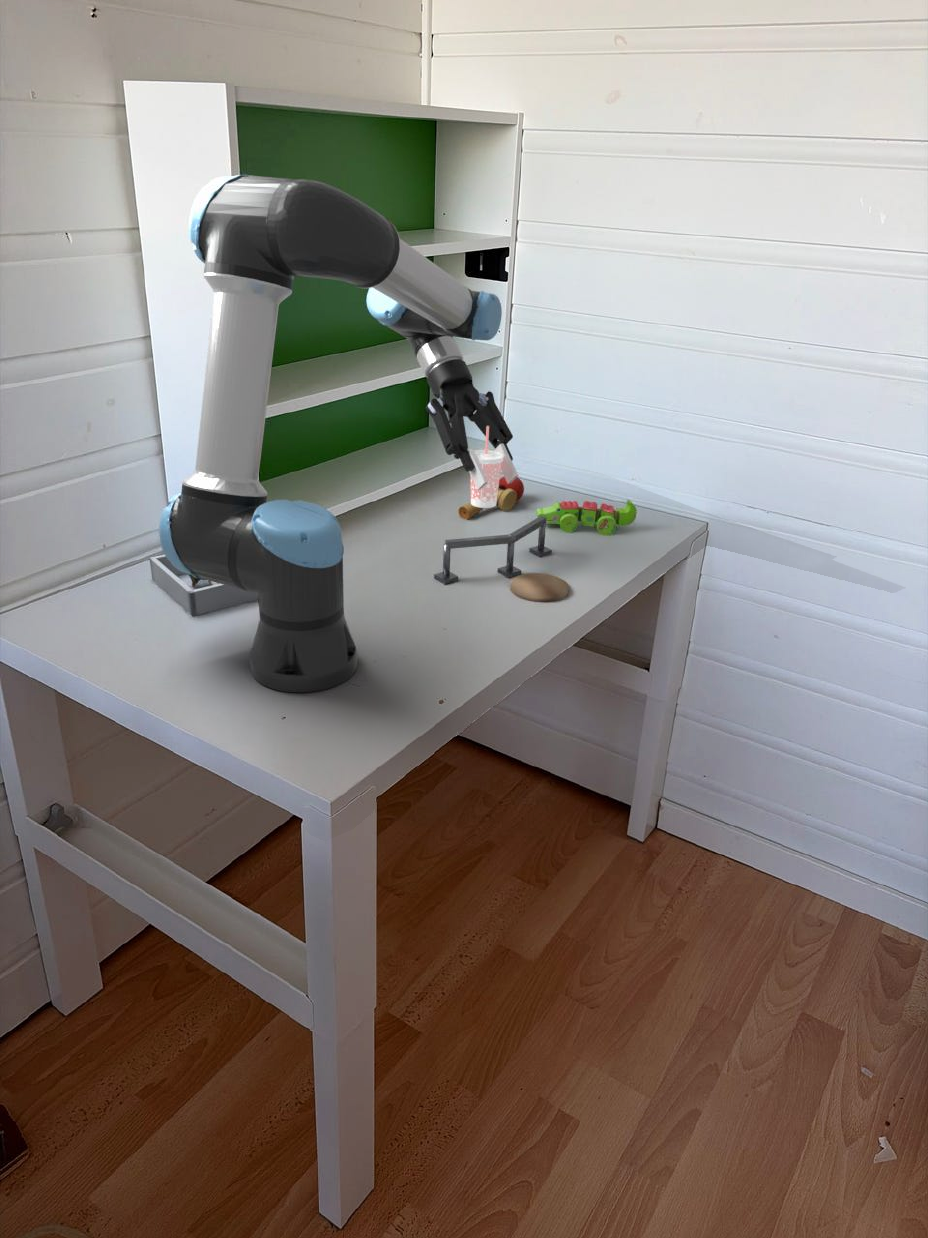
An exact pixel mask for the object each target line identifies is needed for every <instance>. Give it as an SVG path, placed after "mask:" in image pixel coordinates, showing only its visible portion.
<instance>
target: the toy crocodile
mask: <svg viewBox="0 0 928 1238" xmlns="http://www.w3.org/2000/svg"><path fill="white" fill-rule="evenodd" d="M637 511H638V510H637V507H636V505H635V504H634V503H633V502H632V501H631V500H630V499H626V505H625V506H624V507H616V508H615V509H614V506H613V505H609V504H607V503H603V502H602V503H601V504H600V508H598V503H597V502H595V501H592V502H591V501H588V500H586V501H583V504H582V506H579V504H578V501H576V500H572V501H565V500H564V501H563V500H562V501H560V502H558V501H557V502H555V503H554V504H553V505H550V506H546V507H543V508H542V507H538V508H537V509H536V515H537V518H538V517H540V516H544V517H547V519H546V524H550V525H551V524H554V525H555V524H558V525H559V527H560V529H561V530H562V531H563V532H564V533H570V534H571V533H573V532H575V531H576V530H577V529H578V528H579V525H580V526H585V527H591V528H592V527H595V525H596V528H597V531H598V533H599V534H600V535H602V536H610V535H612V534H614V533H615V532H616V530H617V526H619V527H624V526H629V525H631V524H632V523H634V521H635V520H636V518H637Z"/></svg>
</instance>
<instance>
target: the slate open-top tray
mask: <svg viewBox="0 0 928 1238" xmlns="http://www.w3.org/2000/svg"><path fill="white" fill-rule="evenodd" d="M149 564H150V572H151V580H152V581H153V582H154V583H155V584H157V586H159V587H160V588H161V589H162V590H163V591H164V592H165V593H166V594H167V595H168V596H169V597H170V598H171V599H173V600H174V601H175V602H176V603H177V604H178V605H179V606H180V607H182V608H183V609H184V610H185V611H186V612H187V613H188V614H189V615H190V616H191V617H194V616H198V615H202V614H205V613H209V612H214V611H217V610H221V609H225V608H229V607H233V606H237V605H240V604H244V603H248V602H252V601H257V600H258V595H257V594H256V593H253V592H250V591H246V590H242V589H239V588H235V587H231V586H228V585H224V584H220V583H217V584H216V585H212V584H211V585H207V586H204V587H200V588H195V589H192V588H191V587H189V586H188V585H187V584H186V583H185V582H184V581H182V580H181V579H180V578H179V576H181V575H188V574H187V573H184V572H182V571H180V570H178V569H176V568H175V567H174V566H173V565H172V564H171V562H170V561H169V560H168V559H167V558H166V556H165V554H160V555H157V556H152V557H149Z"/></svg>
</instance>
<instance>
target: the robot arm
mask: <svg viewBox="0 0 928 1238" xmlns="http://www.w3.org/2000/svg"><path fill="white" fill-rule="evenodd" d="M188 221H189V222H188V229H189V231H188V233H189V239H190V243H192V244H194V245H193V248H192V249H193V251H194V253H195V255H196V256H197V258H198V259H199V260H200V261H201V262H202V263H203V264H204V268H203V278H204V279H205V280H206V282H207V283H208V285H209V286H210V288H211V290H212V291H213V297H212V306H211V307H212V308H211V318H210V325H209V327H210V328H209V336H208V345H207V352H206V353H207V355H206V364H205V373H204V382H203V383H204V385H203V390H202V391H203V392H202V393H203V394H202V403H201V411H200V421H199V431H198V440H197V447H196V448H197V450H196V459H195V469H194V471H193V472H192V474H190V475H188V476H187V477H186V478H184V479H183V480H182V482H181V483H182V485H181V491H180V492H178V493H176V494H175V495H173V496H172V497H171V498H170V499H169V500H168V502H167V506H166V507H164V508H163V509H162V511H161V516H160V520H159V523H158V524H159V526H158V535H159V542H160V546H161V548H162V549H161V550H162V551H163V555H165V556H166V558H167V559H168V560H169V561H170V562H171V564H172V565H173V566H174V567H175V568H176V569H178V570H180V571H182V572H184V573H187V574H186V575H188V574H190V575H192V576H193V577H195V578H198V579H200V581H208V580H209V581H213V582H216V583H217V584H224V585H228V586H231V587H235V588H239V589H242V590H246V591H250V592H253V593H256V594H257V595H258V599H257V600H258V608H259V609H258V612H259V613H258V614H259V622H258V624H257V629H256V631H255V636H254V639H253V643H252V646H251V649H250V652H249V666H250V674H251V675H252V677H253V678H254V679H255V680H256V681H257V682H258V683H259V684H261V685H263V686H265V687H268V688H269V689H270V688H271V689H274V690H277V691H281V692H289V693H309V692H319V691H324V690H327V689H330V688H333V687H336V686H339V685H341V684H343V683H344V682H346V681H347V680H349V679H350V678H351V677H352V676H353V675H354V674H355V672H356V671H357V669H358V668H357V667H358V649H357V645H356V643H355V640H354V638H353V634H352V632H351V631H350V628H349V624H348V623H347V620H346V617H345V611H344V610H345V609H344V608H345V606H344V605H345V604H344V598H345V597H344V595H345V594H344V554H345V552H344V551H345V550H344V543H343V538H342V529H341V525H340V522H339V520H338V519H337V517H336V516H335V515H334V514H333V513H332V512H331V511H330V510H328V509H327V508H325V507H323V506H322V505H321V506H320V505H319V504H316V503H312V502H310V501H304V500H300V499H299V500H298V499H294V500H292V501H291V500H288V499H276V500H270V501H267V499H268V491H267V490H266V489H265V488H264V486H263V485H262V484H261V483H260V480H259V474H260V465H261V457H262V449H263V440H264V432H265V425H266V422H265V421H266V414H267V406H268V398H269V390H270V381H271V375H272V374H271V372H272V364H273V356H274V355H273V354H274V348H275V341H276V330H277V323H278V315H279V308H280V307H279V306H280V305H281V303H282V302H283V301H284V300H285V299H287V298H288V297H290V296H291V295H292V293H293V286H294V278H295V277H298V278H299V277H300V278H301V277H304V278H305V277H307V278H316V279H317V278H318V279H328V280H335V281H341V282H345V283H348V284H350V285H352V286H354V287H356V288H359V289H368V291H367V293H366V294H367V295H366V306H367V310H368V311H369V313H370V315H371V316H372V317H373V318H375V319H376V320H377V322H379V324H381V325H383V326H386V327H387V328H389V329H391V330H393V331H394V332H396V333H398V334H399V335H401V336H402V337H404V338H405V339H407V340H408V342H409V344H410V346H411V349H412V350H413V353H414V355H415V358H416V360H417V361H418V364H419V366H420V368H421V370H422V373H423V374H424V377H426V379H427V380H426V381H427V384H428V385H429V387H430V390H431V392H432V394H433V396H434V397H435V398H432V399H431V400H430V402H428V404H427V405H426V407H425V410H426V411H427V412H428V414H429V415H430V417H431V418H432V420H433V423H434V425H435V428H436V430H437V432H438V436H439V438H440V440H441V443H442V445H443V449H444V450H445V453H446V454H447V455H448V456H451V455H453V457H454V459H456V460H460V462H461V463H462V465H463V469H464V470H465V471H466V472H469V475H471V477H472V479H473V481H474V483H475V486H476V488H477V490H480V489H482V488H483V487H484V486H485V485H486V484H487V483H488V480H487V477H486V475H485V473H484V471H483V469H482V467H481V465H480V462H479V460H478V458H477V456H476V454H475V452H474V451H475V449H474V448H469V445H468V444H469V443H468V438H467V431H466V426H465V421H464V417H466V418H468V420H469V422H473V423H474V424H475V425H476V427H478V429H479V430H480V432H481V433H482V434H483V435H484V437H486V426H489V439H488V443H490V444H491V446H493V447H492V448H494V450H493V451H497V452H500V453H502V454H503V455H504V457H503V461H502V462H501V470H500V472H501V473H502V475H503V477H505V479H506V481H507V484H509V483H511V482H512V481H514V480H515V479H516V478H517V477H518V478H519V474H518V471H517V470H516V467H515V465H514V463H513V460H514V459H513V455H512V453H511V452H510V448H509V446H508V443H510V441H511V440H513V438H514V436H513V433H512V432H511V429H510V428H509V426H508V424H507V422H506V421H505V418H504V417H503V415H502V414H501V411H500V409H499V408H498V406H497V404H496V402H495V397H494V393H493V392H492V391H490V390H489V391H487V392H486V393H481V392H479V390H478V389H477V388H476V387H475V386H474V383H473V375H472V374H471V372H470V369H469V366H468V365H467V362H466V361H464V356H463V354H462V352H461V351H460V349H459V345H458V344H457V342H456V340H455V338H462V339H467V340H471V341H490V340H492V339H494V338H495V336H496V335H497V334H498V332H499V329H500V326H501V324H502V323H501V321H502V316H503V315H502V314H503V312H502V309H503V308H502V303H501V301H500V299H499V297H498V295H496V294H495V293H491V292H484V291H483V290H480V291H476V290H472V289H470V288H469V287H467V286H465V285H464V283H462V282H460V281H459V280H458V279H456V278H455V277H453V276H452V275H450V274H449V273H448V272H447V271H445V270H444V269H442V268H441V267H440V266H438V265H437V264H436V263H434V262H432V260H430V259H428V258H427V257H426V256H424V255H423V254H422V253H420V251H417V249H415V248H413V247H412V246H411V245H410V244H408V243H407V242H405V241H404V240H403V239H401V238H400V234H399V231H398V230H397V228H396V227H395V225H394V224H393V223H392V222H391V221H390V220H389V219H388V218H386V217H385V216H384V215H382V214H381V213H379V212H378V211H377V210H375V209H373V207H371V206H369V205H368V204H365V203H364V202H363V201H361V200H359V199H357V198H355V197H354V196H352V195H350V194H349V193H346V192H345V191H343V190H341V189H339V188H337V187H335V186H331V185H329V184H327V183H324V182H321V181H317V180H314V179H313V180H312V179H304V178H303V179H300V178H299V179H296V178H293V179H292V178H285V177H284V178H281V177H271V176H258V175H249V174H238V175H237V174H236V175H230V176H229V175H227V176H219V177H217V178H213V179H212V180H210V181H209V183H208V184H205V185H204V186H203V187H202V188H201V190H199V193H198V194H197V195H196V197H195V199H194V201H193V204H192V207H191V210H190V214H189V220H188ZM468 449H469V450H468ZM209 581H208V582H209Z"/></svg>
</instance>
